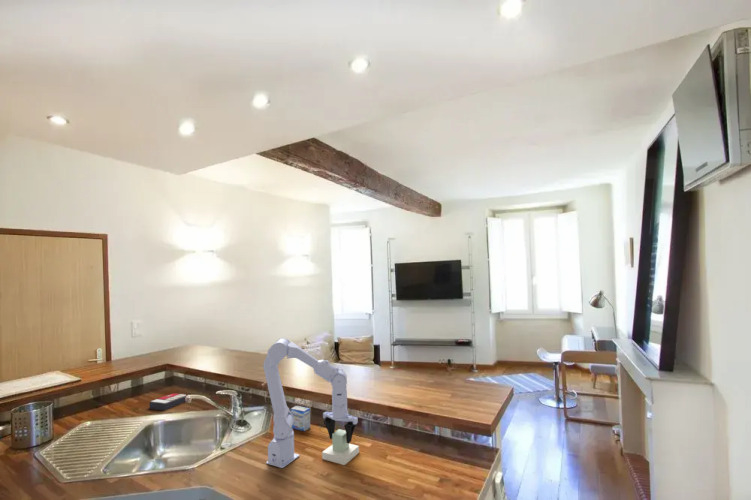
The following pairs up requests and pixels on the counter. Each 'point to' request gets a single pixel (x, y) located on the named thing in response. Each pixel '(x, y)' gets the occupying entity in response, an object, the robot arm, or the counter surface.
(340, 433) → the sage block
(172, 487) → the counter surface
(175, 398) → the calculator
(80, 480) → the counter surface
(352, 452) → the white block
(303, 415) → the medicine box
